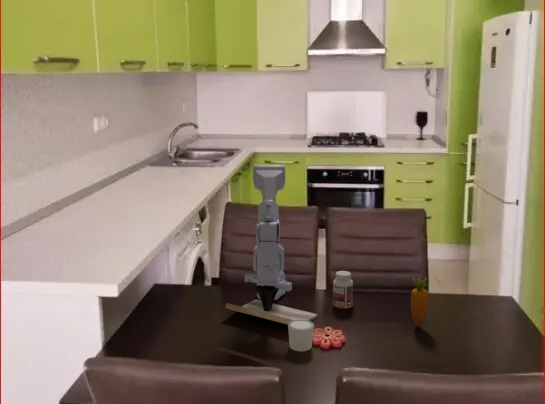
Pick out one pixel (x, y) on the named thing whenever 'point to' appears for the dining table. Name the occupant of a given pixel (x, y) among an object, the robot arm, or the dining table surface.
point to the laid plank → (282, 311)
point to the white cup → (300, 335)
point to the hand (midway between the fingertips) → (267, 310)
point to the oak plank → (258, 314)
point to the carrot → (419, 301)
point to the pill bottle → (343, 290)
